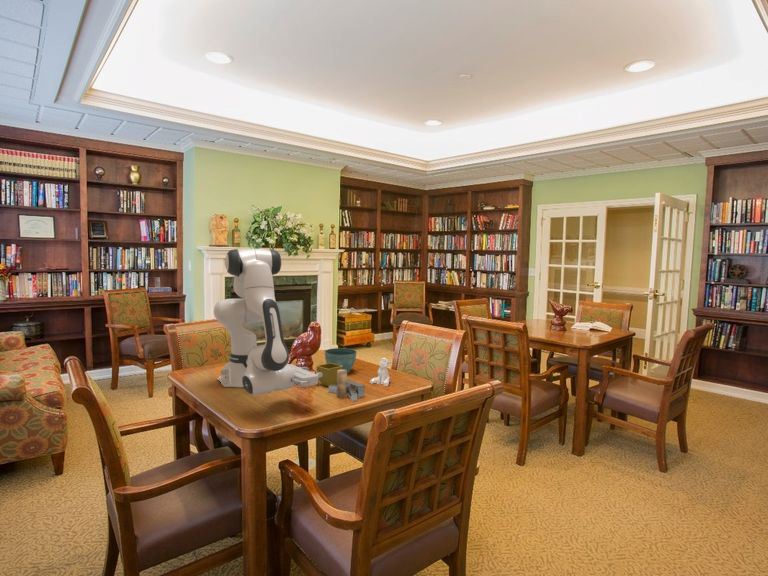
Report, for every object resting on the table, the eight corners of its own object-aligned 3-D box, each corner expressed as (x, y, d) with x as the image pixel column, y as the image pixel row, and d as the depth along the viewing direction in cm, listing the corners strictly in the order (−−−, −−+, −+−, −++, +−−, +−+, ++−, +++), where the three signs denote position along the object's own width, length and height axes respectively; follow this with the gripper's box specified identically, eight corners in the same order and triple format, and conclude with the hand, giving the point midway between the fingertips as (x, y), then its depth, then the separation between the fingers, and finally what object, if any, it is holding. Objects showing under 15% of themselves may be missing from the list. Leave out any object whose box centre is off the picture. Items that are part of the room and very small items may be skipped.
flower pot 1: (362, 372, 238) (363, 351, 237) (339, 378, 226) (339, 356, 225) (341, 366, 249) (341, 346, 248) (317, 372, 237) (318, 351, 236)
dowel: (335, 396, 198) (335, 370, 197) (342, 394, 200) (343, 369, 200) (341, 398, 195) (341, 372, 194) (348, 396, 198) (348, 370, 197)
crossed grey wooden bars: (326, 391, 203) (327, 380, 203) (341, 388, 209) (342, 377, 209) (353, 401, 190) (353, 389, 190) (368, 398, 196) (368, 386, 196)
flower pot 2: (328, 388, 208) (328, 369, 207) (315, 384, 214) (316, 365, 213) (342, 385, 214) (343, 365, 214) (330, 381, 220) (330, 362, 220)
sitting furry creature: (368, 384, 217) (369, 358, 217) (377, 379, 225) (378, 355, 224) (386, 387, 213) (387, 361, 212) (395, 382, 221) (395, 357, 220)
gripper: (299, 375, 171) (330, 369, 181) (271, 363, 186) (300, 358, 196) (299, 392, 172) (329, 385, 182) (271, 379, 187) (300, 373, 196)
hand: (314, 371), depth 189 cm, fingers open, 8 cm apart
